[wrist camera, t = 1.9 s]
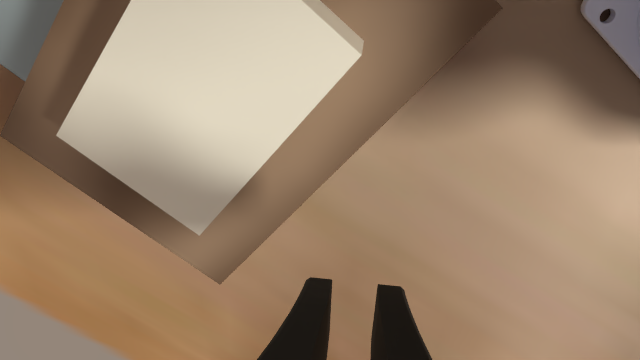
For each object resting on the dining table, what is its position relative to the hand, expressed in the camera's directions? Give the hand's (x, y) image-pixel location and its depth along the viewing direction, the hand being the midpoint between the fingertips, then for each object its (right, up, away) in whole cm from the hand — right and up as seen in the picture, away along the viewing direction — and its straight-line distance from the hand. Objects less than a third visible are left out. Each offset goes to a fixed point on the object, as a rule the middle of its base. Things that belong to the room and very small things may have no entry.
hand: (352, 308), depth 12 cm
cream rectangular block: (-5, +7, +4) cm, 9 cm away
